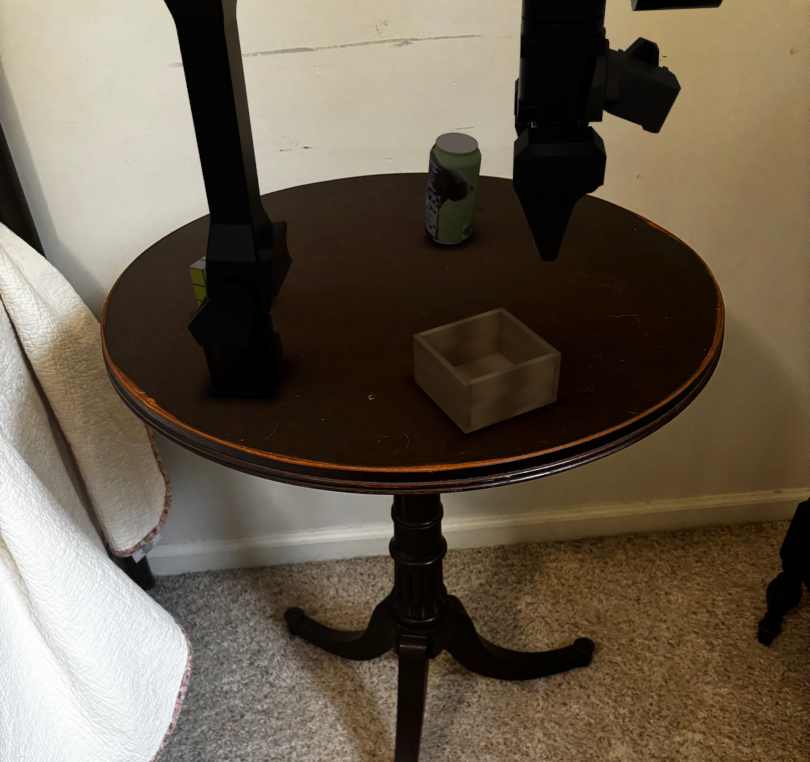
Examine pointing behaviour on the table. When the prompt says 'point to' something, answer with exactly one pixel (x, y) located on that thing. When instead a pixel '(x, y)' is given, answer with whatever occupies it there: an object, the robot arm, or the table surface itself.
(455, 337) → the holder
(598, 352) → the table surface
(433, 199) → the beverage can
